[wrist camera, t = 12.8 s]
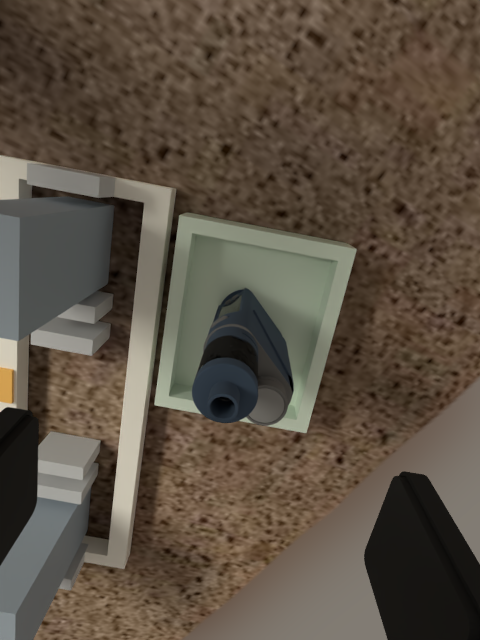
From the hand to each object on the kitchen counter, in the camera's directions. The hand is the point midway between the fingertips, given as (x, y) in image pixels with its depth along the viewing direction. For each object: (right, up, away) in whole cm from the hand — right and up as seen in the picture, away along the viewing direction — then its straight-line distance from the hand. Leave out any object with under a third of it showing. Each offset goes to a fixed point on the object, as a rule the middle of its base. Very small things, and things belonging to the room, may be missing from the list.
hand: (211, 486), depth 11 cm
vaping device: (+1, +4, +15) cm, 15 cm away
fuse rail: (-10, 0, +17) cm, 20 cm away
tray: (+1, +4, +15) cm, 16 cm away
